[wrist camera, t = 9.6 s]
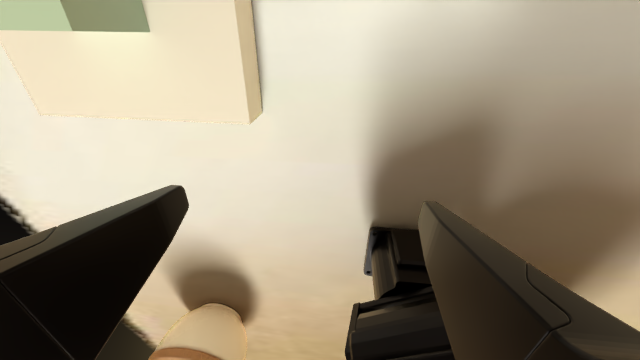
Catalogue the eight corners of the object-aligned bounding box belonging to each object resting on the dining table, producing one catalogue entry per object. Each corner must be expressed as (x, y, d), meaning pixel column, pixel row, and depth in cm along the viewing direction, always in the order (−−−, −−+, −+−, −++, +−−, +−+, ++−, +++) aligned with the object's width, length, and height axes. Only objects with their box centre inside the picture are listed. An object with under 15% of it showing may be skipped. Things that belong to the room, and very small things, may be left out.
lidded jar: (166, 301, 35) (111, 382, 27) (226, 283, 32) (185, 369, 23) (214, 342, 39) (180, 422, 31) (272, 330, 36) (250, 416, 28)
